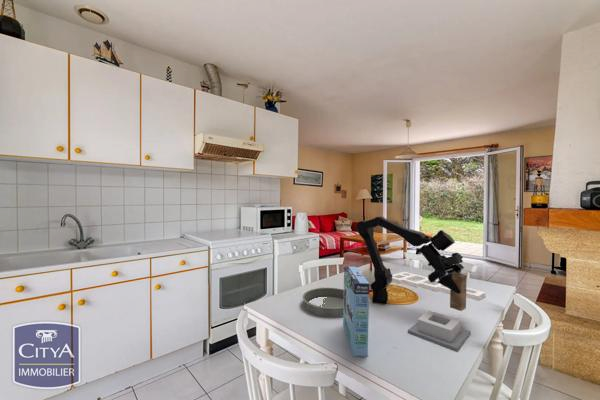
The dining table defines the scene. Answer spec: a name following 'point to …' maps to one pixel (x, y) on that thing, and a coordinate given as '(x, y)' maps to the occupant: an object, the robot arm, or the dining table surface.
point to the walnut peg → (459, 299)
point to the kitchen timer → (369, 275)
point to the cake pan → (326, 301)
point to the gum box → (356, 311)
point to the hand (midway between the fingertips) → (462, 292)
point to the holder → (424, 283)
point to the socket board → (439, 341)
